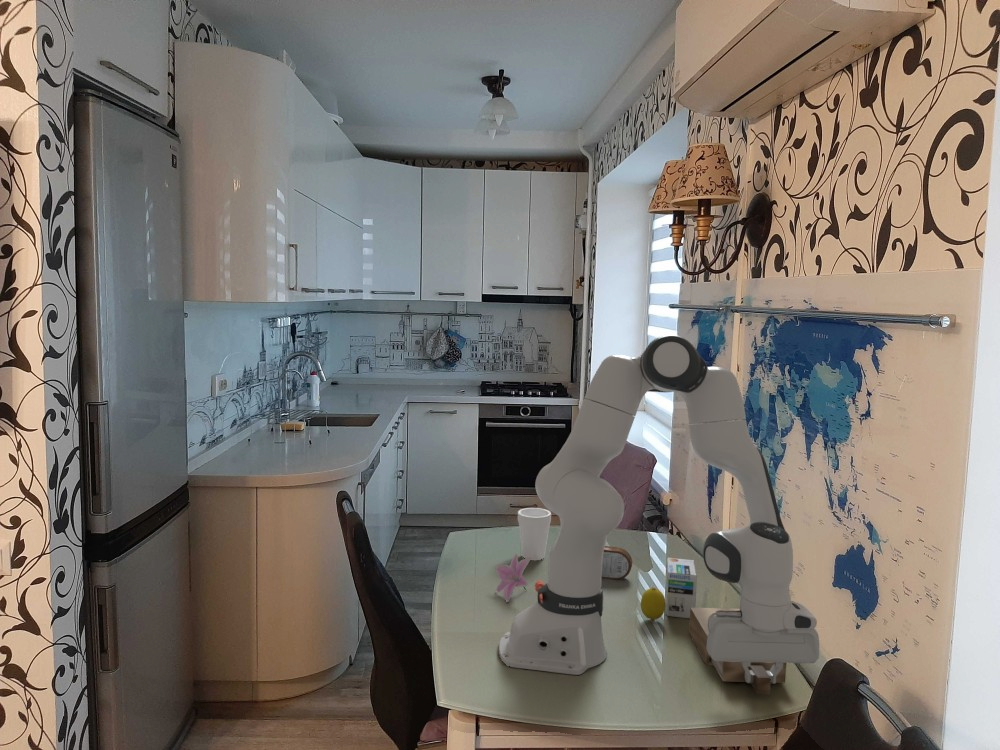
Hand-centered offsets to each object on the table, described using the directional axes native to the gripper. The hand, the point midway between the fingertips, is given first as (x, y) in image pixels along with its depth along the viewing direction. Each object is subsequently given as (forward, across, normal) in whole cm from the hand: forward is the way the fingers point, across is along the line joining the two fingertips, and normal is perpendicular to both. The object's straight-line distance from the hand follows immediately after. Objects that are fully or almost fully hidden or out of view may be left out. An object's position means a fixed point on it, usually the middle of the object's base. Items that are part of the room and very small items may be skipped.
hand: (760, 681), depth 138 cm
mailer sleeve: (+3, 0, +18) cm, 18 cm away
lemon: (+3, -14, +31) cm, 34 cm away
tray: (+2, 0, +7) cm, 7 cm away
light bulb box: (+3, -6, +38) cm, 38 cm away
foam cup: (+3, -40, +71) cm, 82 cm away
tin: (+3, -22, +57) cm, 61 cm away
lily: (+3, -46, +44) cm, 64 cm away
